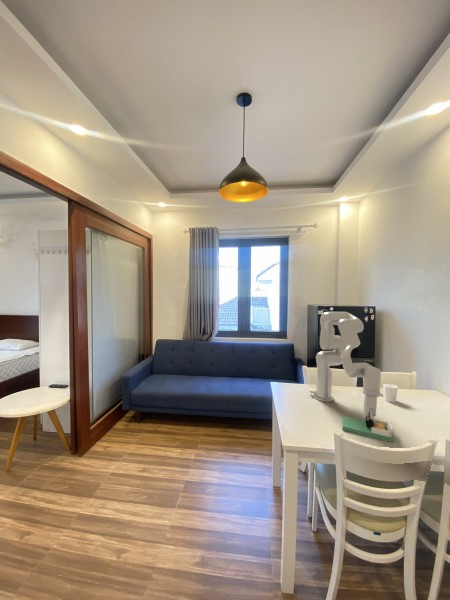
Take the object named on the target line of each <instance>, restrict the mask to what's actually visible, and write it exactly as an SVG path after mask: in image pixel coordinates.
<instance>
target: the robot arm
mask: <svg viewBox="0 0 450 600" xmlns="http://www.w3.org/2000/svg"><path fill="white" fill-rule="evenodd" d="M319 323H320V336H319V346H320V349H322V350H321V351H319V352H317V353H316V355H315V361H316V362H315V363H316V388H315V389H312V388H309V393H311V394H313V398H314V399H316V400H318V401H319V402H327V403H329V402H333V401H334V399H335V398H334V396H333V395H332V392H333V391H332V389H333V388H332V387H333V371H332V369H331V368H330V367H331V366H340V365H342V367H343V370H344V372H345V374H346V375H347V376H348V377H349V378H362V379H363V382H362V394H363V395H364V398H363V413H364V415H365V421H366V427H367V428H371V429H372V427H374V419H375V417H376V416H377V405H378V403H377V402H378V398H379V397H380V396H381V378H382V377H381V375H382V371H381V370H380V368H378V367H375V366H373V365H371V364H369V362H368V363H367V362H353V360H352V357H351V353H352V350H354V349H356V348H357V347H359V346H360V345H361V341H360V338H359V336H358V333H362V332H363V330H364V328H365V327H364V323H363V321H362V320H361V319H360V318H359V317H357V316H355V315H353V314H352V313H349V312H347V311H325V312H323V313H322V314H321V316H320V320H319ZM334 326H337V327H338V330H339V334H340V335H338V334H337V335H335V327H334Z"/></svg>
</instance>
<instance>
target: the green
mask: <svg viewBox="0 0 450 600" xmlns="http://www.w3.org/2000/svg"><path fill="white" fill-rule="evenodd" d="M377 423H380V424H382V425H383V426H384V427H385V430H383V429H379V428H375V427H372V429H371V428H367V427H366V420H364V419H358V418H354V417H349V416H345V415H342V430H343V431H345V432H349V433H353V434H358V435H362V436H365V437H369V438H373V439H378V440H381V441H386V442H389V443H394V432H395V431H394V430H395V429H394V427H393V425H392V421H391V419H390V418H386V420H382V419H377V418H374V425H375V424H377Z"/></svg>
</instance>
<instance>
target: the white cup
mask: <svg viewBox="0 0 450 600" xmlns="http://www.w3.org/2000/svg"><path fill="white" fill-rule="evenodd" d="M382 389H383V400H384V401H385V402H388V403H394V404H395V403H396V402H397V401H396V400H397V395H398V386H397V385H395V384H392V383H383V388H382Z"/></svg>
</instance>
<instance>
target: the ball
mask: <svg viewBox="0 0 450 600" xmlns="http://www.w3.org/2000/svg"><path fill="white" fill-rule="evenodd" d="M374 427H375V428H379V429H383V430H385V427H384V426H383V425H382V424H380V423H377V424H375V425H374Z"/></svg>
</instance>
